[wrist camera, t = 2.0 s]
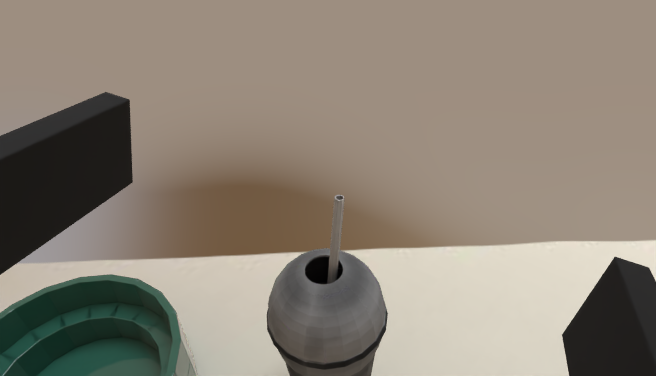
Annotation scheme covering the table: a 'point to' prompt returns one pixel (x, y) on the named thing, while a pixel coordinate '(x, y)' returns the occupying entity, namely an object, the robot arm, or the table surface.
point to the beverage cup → (327, 311)
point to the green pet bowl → (94, 331)
